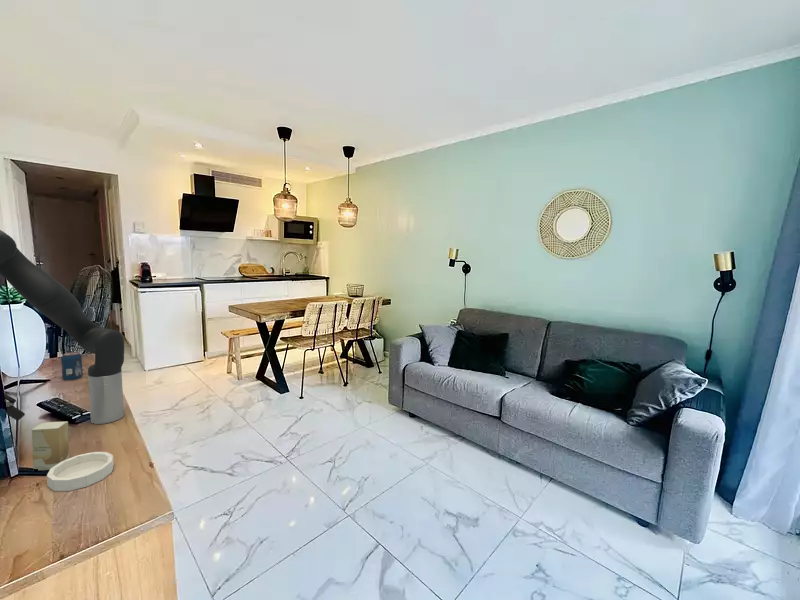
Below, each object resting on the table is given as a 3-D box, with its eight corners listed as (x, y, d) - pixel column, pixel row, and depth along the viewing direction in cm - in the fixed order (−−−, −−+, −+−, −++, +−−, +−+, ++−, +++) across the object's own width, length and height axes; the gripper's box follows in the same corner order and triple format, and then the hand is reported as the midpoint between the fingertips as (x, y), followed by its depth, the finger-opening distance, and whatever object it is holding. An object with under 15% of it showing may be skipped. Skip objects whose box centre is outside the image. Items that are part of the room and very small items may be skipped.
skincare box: (32, 471, 96) (29, 429, 95) (43, 462, 100) (40, 422, 99) (61, 469, 98) (58, 427, 96) (71, 460, 102) (68, 420, 101)
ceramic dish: (39, 480, 93) (38, 470, 92) (98, 456, 104) (98, 447, 104) (62, 497, 87) (61, 486, 87) (122, 470, 99) (122, 460, 98)
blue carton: (66, 376, 165) (64, 352, 164) (85, 375, 168) (83, 351, 167) (59, 381, 159) (57, 356, 158) (79, 380, 162) (77, 355, 161)
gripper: (-64, 386, 84) (2, 426, 89) (-16, 367, 97) (39, 403, 102) (-93, 409, 83) (-23, 448, 88) (-40, 387, 96) (17, 422, 101)
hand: (10, 424), depth 95 cm, fingers open, 8 cm apart
